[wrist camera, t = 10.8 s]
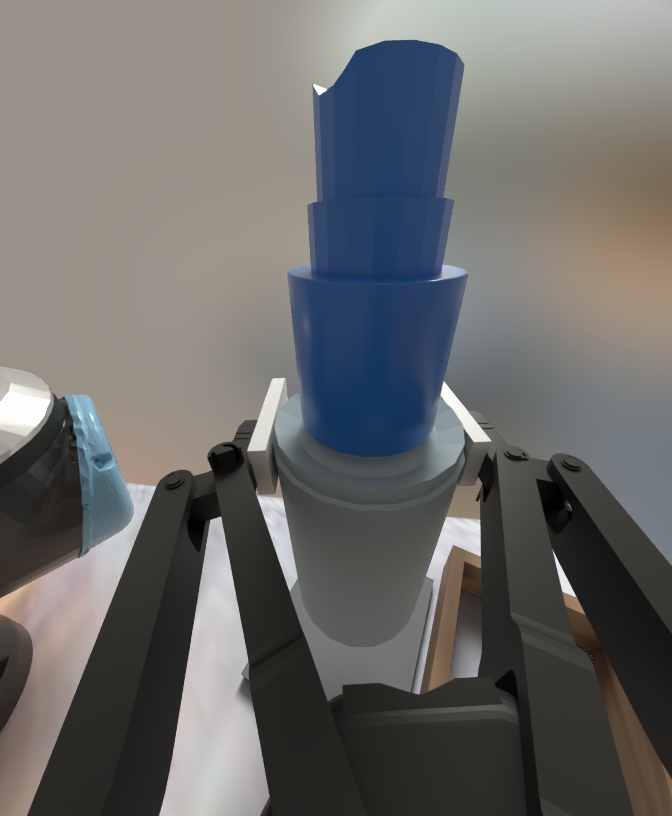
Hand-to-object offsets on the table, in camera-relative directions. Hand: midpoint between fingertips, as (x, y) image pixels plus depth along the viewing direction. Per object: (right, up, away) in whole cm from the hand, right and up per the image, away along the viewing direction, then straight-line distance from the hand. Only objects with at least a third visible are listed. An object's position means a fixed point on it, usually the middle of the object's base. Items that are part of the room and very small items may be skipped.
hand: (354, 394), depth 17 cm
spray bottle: (0, -14, +3) cm, 14 cm away
